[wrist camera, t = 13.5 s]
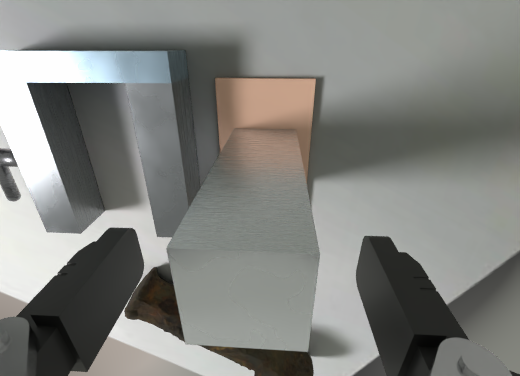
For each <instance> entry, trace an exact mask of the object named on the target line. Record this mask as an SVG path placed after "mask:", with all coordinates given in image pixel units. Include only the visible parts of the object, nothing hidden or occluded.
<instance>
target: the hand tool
mask: <svg viewBox="0 0 520 376" xmlns="http://www.w3.org/2000/svg"><path fill="white" fill-rule="evenodd" d="M124 312H125V317H127V318H128V319H132V320H136V319H139V320H142V321H145V322H148V323H151V324H153V325H155V326H157V327H159V328H161V329H163V330H164V331H165V332H169V333H172V335H174V336H176V337H178V338H179V339H180V340H182V341H184V342H185V339H184V334H183V329H182V324H181V319H180V314H179V309H178V304H177V299H176V294H175V289H174V285H173V284H171V283H169V282H167V281H165V280H163V279H161V278H160V277H159V276H158V273H157V268H153V269H152V270H151V271H150V272H149V273H148V274H147V275H146V276H145V277H144V279H143V280H142V281H141V283H140V284H139V285H138V287H137V288H136V290H135V291H134V292H133V294H132V297H131V299H130V301H129V303H128V305H127V307H126V308H125V311H124ZM199 346H202V347H204V348H206V349H208V350H210V351H213V352H215V353H217V354H219V355H222V356H224V357H226V358H228V359H230V360H232V361H234V362H235V363H238V364H240V365H241V366H244V367H247V368H248V369H249V370H254V371H255V375H254V376H313V373H314V372H313V364H312V359H311V357H310V356H309V354H308V353H307V352H302V351H286V350H270V349H254V348H238V347H222V346H206V345H199Z"/></svg>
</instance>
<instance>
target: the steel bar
mask: <svg viewBox="0 0 520 376" xmlns="http://www.w3.org/2000/svg"><path fill="white" fill-rule="evenodd" d="M167 254H168V259H169V264H170V269H171V274H172V279H173V284H174V289H175V294H176V299H177V304H178V309H179V314H180V319H181V324H182V329H183V334H184V339H185V344H190V345H206V346H222V347H238V348H254V349H270V350H286V351H302V352H308V348H309V339H310V331H311V323H312V315H313V307H314V299H315V291H316V283H317V274H318V266H319V258H320V252H319V247H318V242H317V236H316V231H315V226H314V220H313V215H312V210H311V205H310V199H309V194H308V189H307V184H306V178H305V173H304V168H303V163H302V157H301V152H300V147H299V142H298V136H297V131H296V129H249V128H234V129H233V131H232V133H231V135H230V137H229V138H228V140H227V142H226V144H225V145H224V147H223V149H222V151H221V152H220V154H219V156H218V158H217V160H216V161H215V163H214V165H213V167H212V168H211V170H210V172H209V174H208V175H207V177H206V179H205V181H204V183H203V184H202V186H201V188H200V190H199V191H198V193H197V195H196V197H195V198H194V200H193V202H192V204H191V206H190V207H189V209H188V211H187V213H186V214H185V216H184V218H183V220H182V221H181V223H180V225H179V227H178V229H177V230H176V232H175V234H174V236H173V237H172V239H171V241H170V243H169V244H168V246H167Z"/></svg>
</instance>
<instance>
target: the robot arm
mask: <svg viewBox="0 0 520 376" xmlns="http://www.w3.org/2000/svg"><path fill="white" fill-rule="evenodd" d="M143 270H144V261H143V257H142V253H141V249H140V245H139V241H138V238H137V234H136V231H135V230H134V229H133V228H109V229H108V230H106V232H105V233H104V234H103V235H102V236H101V237H100V238H99V239H98V240H97V242H92V243H90V244H89V245H87V246H86V247H84V248H83V249H81V250H80V251H78V252H77V253H76V254H75V255H74V256H73V257H72V258H71V259H70V260H69V262H68V263H67V265H65V266H64V267H63V268H62V269H61V270H60V271H59V272H58V275H57V276H54V277H53V278H52V279H51V280H50V282H49V283H48V284H47V285H46V286H45V287H44V288H43V289H42V290H41V291H40V292H39V293H38V294H37V295H36V296H35V297H34V298H33V299H32V300H31V302H30V303H29V304H28V305H27V306H26V307H25V308H24V309H23V310H22V311H21V312H20V313H19V314H18V315H17V316H16V317H8V318H4V319H1V320H0V376H68V374H69V373H70V371H81V372H87V371H88V370H89V368H90V366H91V365H92V363H93V361H94V359H95V358H96V356H97V354H98V352H99V350H100V349H101V347H102V345H103V344H104V342H105V340H106V339H107V337H108V335H109V333H110V332H111V330H112V328H113V326H114V325H115V323H116V321H117V319H118V318H119V316H120V314H121V312H122V311H123V309H124V307H125V305H126V304H127V302H128V300H129V299H130V297H131V295H132V293H133V292H134V290H135V288H136V286H137V285H138V283H139V281H140V279H141V277H142V274H143ZM428 278H429V277H428V276H427V274H426V273H425V271H424V270H423V268H422V266H421V265H420V264H419V263H418V262H417V261H416V260H415V259H413V258H412V257H411V256H410V255H409V254H407V253H404V252H398V250H397V248H396V247H395V245H394V243H393V241H392V240H391V238H390V237H384V236H365V237H364V238H363V242H362V246H361V251H360V256H359V260H358V265H357V270H356V281H357V287H358V290H359V293H360V296H361V300H362V303H363V306H364V309H365V312H366V315H367V318H368V321H369V324H370V327H371V330H372V333H373V336H374V339H375V342H376V345H377V348H378V351H379V354H380V357H381V360H382V363H383V366H384V369H385V372H386V375H387V376H520V374H517V373H514V372H511V371H509V370H508V368H507V367H506V366H505V365H504V363H503V362H502V361H501V360H500V359H499V358H498V357H497V356H495V355H494V354H493V353H492V352H490V351H489V350H487V349H486V348H485V347H483V346H481V345H479V344H477V343H475V342H473V341H470V340H469V339H468V338H467V336H466V334H465V333H464V331H463V330H462V328H461V327H460V325H459V324H458V322H457V321H456V319H455V317H454V316H453V314H452V313H451V312H450V310H449V308H448V307H447V305H446V304H445V302H444V300H443V299H442V297H441V296H440V294H439V293H438V292H436V288H435V287H434V285H433V283H432V282H431V280H429V279H428Z"/></svg>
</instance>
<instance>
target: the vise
mask: <svg viewBox="0 0 520 376" xmlns="http://www.w3.org/2000/svg"><path fill="white" fill-rule="evenodd" d="M67 83H125V86H126V91H127V95H128V100H129V105H130V110H131V114H132V119H133V124H134V129H135V134H136V138H137V143H138V148H139V153H140V157H141V162H142V167H143V172H144V176H145V181H146V186H147V191H148V196H149V200H150V205H151V210H152V215H153V219H154V224H155V229H156V234H157V237H173V236H174V234H175V232H176V230H177V229H178V227H179V225H180V223H181V221H182V220H183V218H184V216H185V214H186V213H187V211H188V209H189V207H190V206H191V204H192V202H193V200H194V198H195V197H196V195H197V193H198V191H199V190H200V179H199V169H198V160H197V151H196V142H195V133H194V124H193V115H192V106H191V97H190V88H189V79H188V70H187V60H186V51H185V50H6V51H0V124H1V126H2V129H3V131H4V133H5V136H6V138H7V140H8V143H9V145H10V147H11V149H2V148H0V185H1V187H2V189H3V191H4V193H5V196H6V198H7V199H8V200H9V201H17V200H19V199H20V197H21V194H20V192H19V190H18V188H17V185H16V183H15V181H14V179H13V176H12V174H11V172H10V170H9V167H8V166H12V167H19V168H20V171H21V173H22V175H23V178H24V180H25V182H26V185H27V187H28V189H29V192H30V194H31V196H32V199H33V201H34V203H35V206H36V208H37V210H38V213H39V215H40V217H41V220H42V222H43V224H44V226H45V229H46V231H47V232H56V233H80V234H81V233H82V232H83V231H84V230H85V229H86V228H87V227H88V226H89V225H90V224H91V223H93V222H94V221H95V220H96V219H97V218H98V217H99V216H100V215H101V214H102V213H103V212H104V211H105V210H104V206H103V203H102V200H101V196H100V193H99V190H98V186H97V183H96V180H95V176H94V173H93V170H92V167H91V163H90V160H89V157H88V153H87V150H86V147H85V143H84V140H83V137H82V133H81V130H80V127H79V123H78V120H77V117H76V113H75V110H74V107H73V103H72V100H71V97H70V93H69V90H68V87H67Z"/></svg>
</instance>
